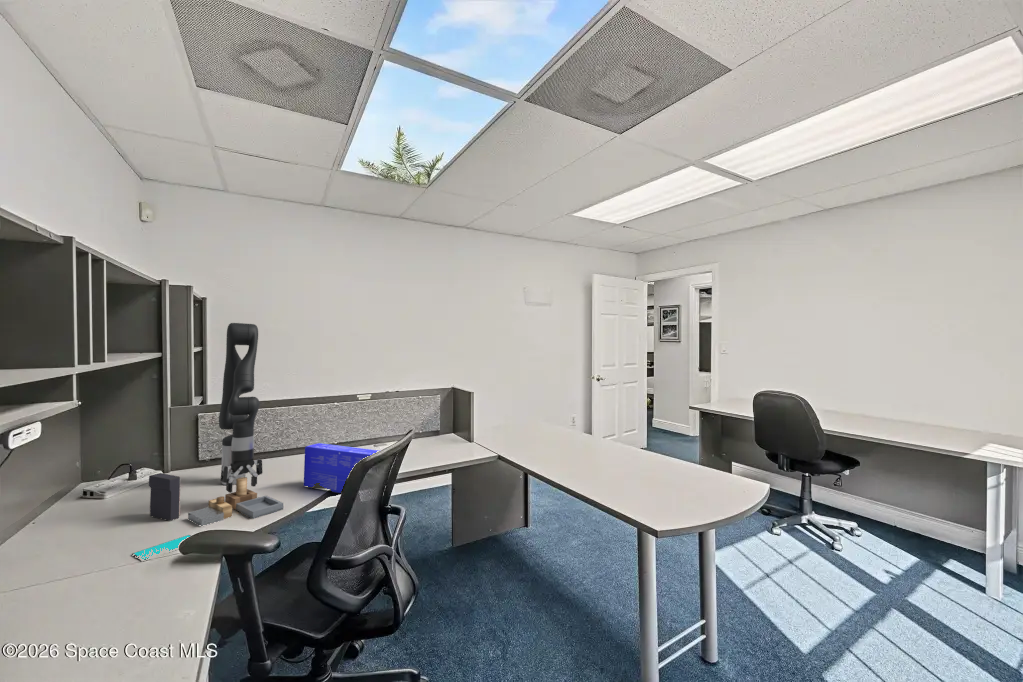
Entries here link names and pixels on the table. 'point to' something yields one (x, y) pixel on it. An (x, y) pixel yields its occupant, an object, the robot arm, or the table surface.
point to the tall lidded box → (164, 496)
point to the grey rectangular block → (206, 516)
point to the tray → (259, 506)
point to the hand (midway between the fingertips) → (241, 489)
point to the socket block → (239, 498)
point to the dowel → (241, 486)
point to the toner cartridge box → (331, 464)
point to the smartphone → (169, 545)
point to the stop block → (221, 506)
